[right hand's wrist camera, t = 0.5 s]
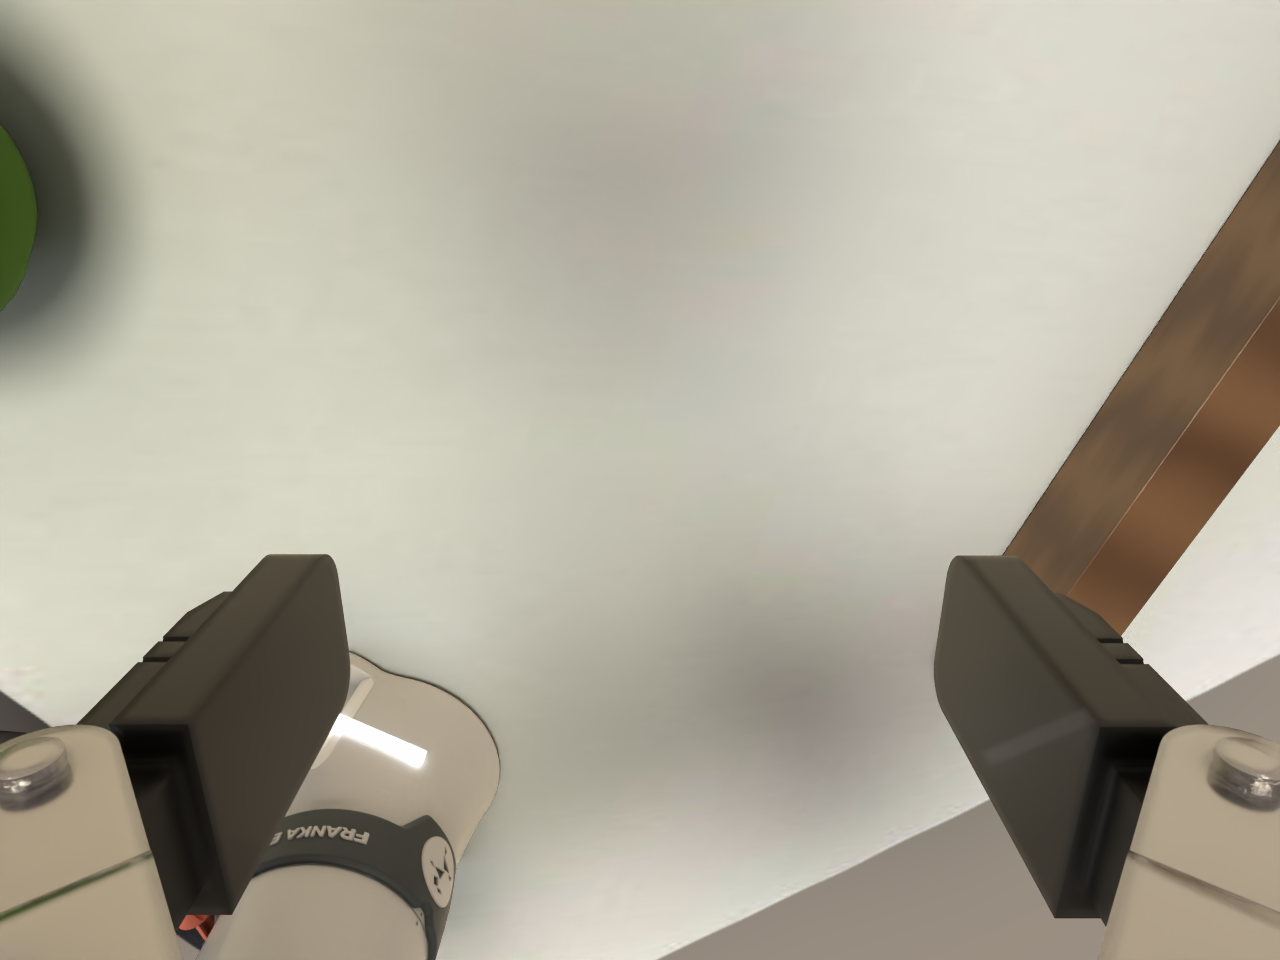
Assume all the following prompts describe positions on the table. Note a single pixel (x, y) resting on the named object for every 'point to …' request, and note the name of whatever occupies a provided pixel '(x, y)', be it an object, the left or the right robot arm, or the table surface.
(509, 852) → the table surface
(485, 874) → the table surface
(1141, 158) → the table surface
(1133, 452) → the beam
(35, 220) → the vase
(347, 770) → the left robot arm
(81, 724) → the right robot arm
